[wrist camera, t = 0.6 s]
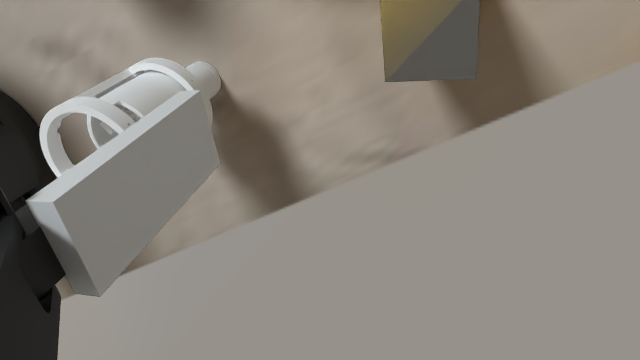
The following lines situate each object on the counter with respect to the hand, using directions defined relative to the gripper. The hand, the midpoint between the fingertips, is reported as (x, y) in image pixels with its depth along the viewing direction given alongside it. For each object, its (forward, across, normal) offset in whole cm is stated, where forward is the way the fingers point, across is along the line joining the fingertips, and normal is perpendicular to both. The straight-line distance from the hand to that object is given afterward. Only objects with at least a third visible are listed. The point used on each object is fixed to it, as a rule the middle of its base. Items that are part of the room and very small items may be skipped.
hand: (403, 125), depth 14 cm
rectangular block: (+20, 0, 0) cm, 21 cm away
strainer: (+21, -19, -5) cm, 29 cm away
